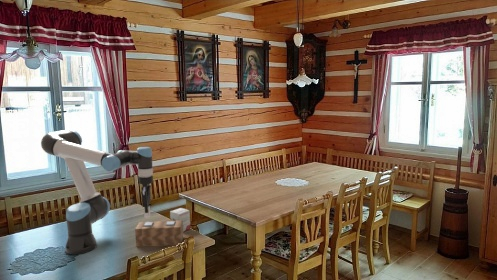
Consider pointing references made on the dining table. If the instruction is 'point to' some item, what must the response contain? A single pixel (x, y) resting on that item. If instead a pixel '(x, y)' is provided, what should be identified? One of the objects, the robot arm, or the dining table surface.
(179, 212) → the ink box
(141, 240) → the socket block
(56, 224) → the dining table surface
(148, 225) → the peg
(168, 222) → the peg
